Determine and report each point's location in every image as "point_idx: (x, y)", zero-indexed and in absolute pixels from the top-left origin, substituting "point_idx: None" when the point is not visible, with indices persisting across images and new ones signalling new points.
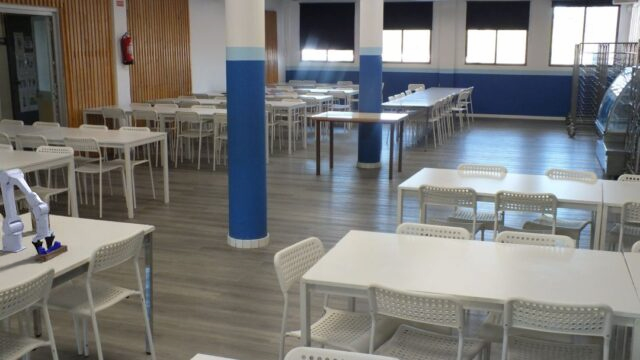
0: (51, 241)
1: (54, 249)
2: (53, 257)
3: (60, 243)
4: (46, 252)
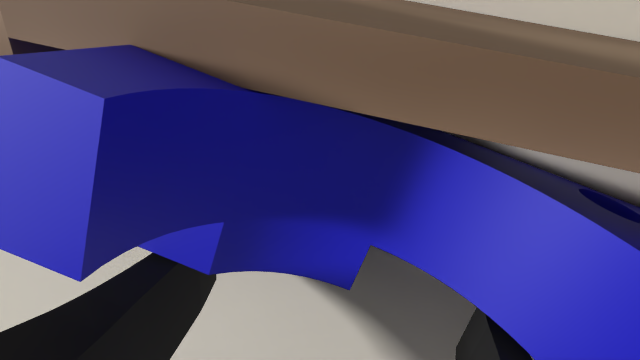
0: (96, 346)
1: (266, 143)
2: (545, 25)
3: (33, 58)
4: (407, 245)
